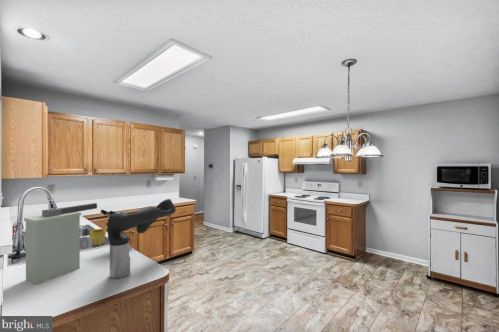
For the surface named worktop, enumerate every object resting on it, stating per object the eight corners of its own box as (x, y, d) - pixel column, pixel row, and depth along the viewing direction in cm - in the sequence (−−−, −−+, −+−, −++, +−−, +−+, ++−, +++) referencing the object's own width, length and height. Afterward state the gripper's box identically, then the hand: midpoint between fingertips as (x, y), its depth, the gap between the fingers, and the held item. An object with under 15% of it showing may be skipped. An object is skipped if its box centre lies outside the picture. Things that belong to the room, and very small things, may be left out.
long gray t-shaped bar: (92, 207, 149) (92, 202, 149) (98, 208, 146) (98, 203, 146) (42, 215, 125) (42, 210, 125) (48, 217, 123) (48, 211, 123)
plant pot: (87, 246, 169) (87, 233, 169) (92, 242, 179) (92, 229, 179) (103, 245, 172) (103, 232, 172) (107, 241, 182) (107, 228, 182)
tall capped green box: (69, 264, 140) (69, 210, 139) (81, 268, 135) (81, 212, 135) (24, 280, 121) (23, 218, 120) (35, 285, 116) (35, 220, 116)
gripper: (129, 225, 163) (109, 218, 150) (115, 223, 169) (95, 216, 156) (134, 215, 166) (115, 206, 153) (120, 213, 172) (101, 205, 159)
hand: (105, 211), depth 155 cm, fingers open, 8 cm apart
